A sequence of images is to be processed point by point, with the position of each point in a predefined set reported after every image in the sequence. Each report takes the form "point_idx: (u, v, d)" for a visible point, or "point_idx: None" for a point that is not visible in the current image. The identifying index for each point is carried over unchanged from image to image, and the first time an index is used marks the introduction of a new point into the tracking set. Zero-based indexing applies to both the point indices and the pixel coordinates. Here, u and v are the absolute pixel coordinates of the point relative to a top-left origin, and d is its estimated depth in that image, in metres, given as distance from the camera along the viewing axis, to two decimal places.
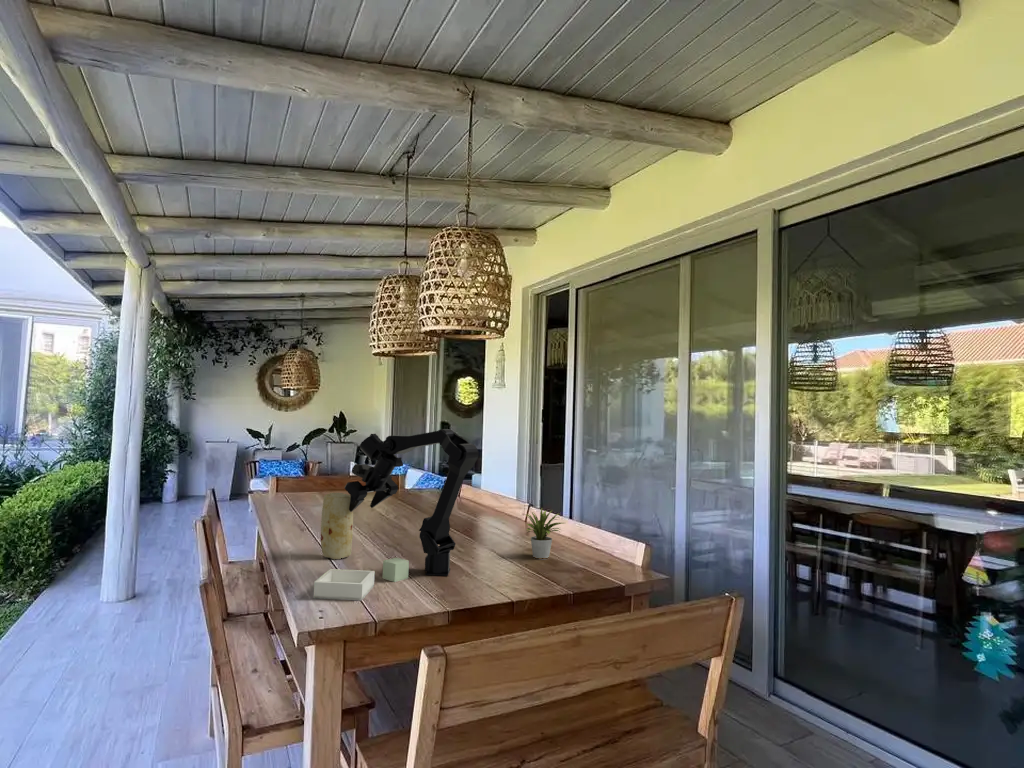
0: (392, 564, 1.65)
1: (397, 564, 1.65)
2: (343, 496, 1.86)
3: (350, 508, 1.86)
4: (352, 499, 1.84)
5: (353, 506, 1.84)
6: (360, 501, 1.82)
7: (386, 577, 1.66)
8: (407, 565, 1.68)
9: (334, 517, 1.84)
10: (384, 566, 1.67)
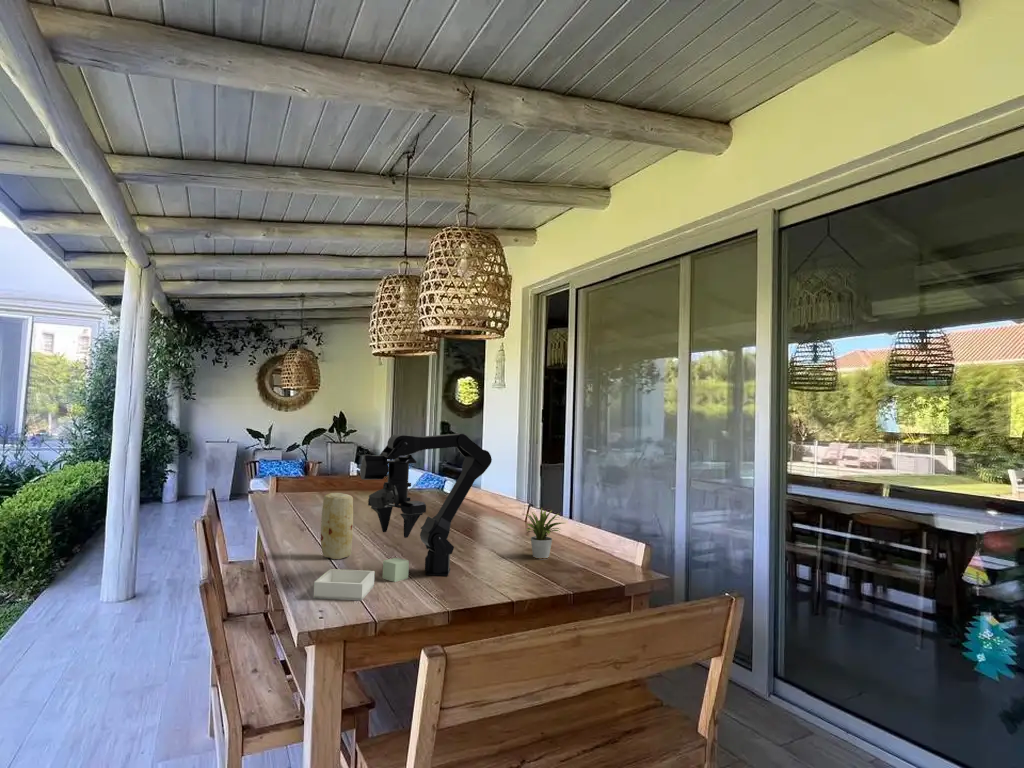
0: (392, 564, 1.65)
1: (397, 564, 1.65)
2: (343, 496, 1.86)
3: (407, 534, 1.65)
4: (408, 522, 1.64)
5: (411, 528, 1.65)
6: None
7: (386, 577, 1.66)
8: (407, 565, 1.68)
9: (334, 517, 1.84)
10: (384, 566, 1.67)
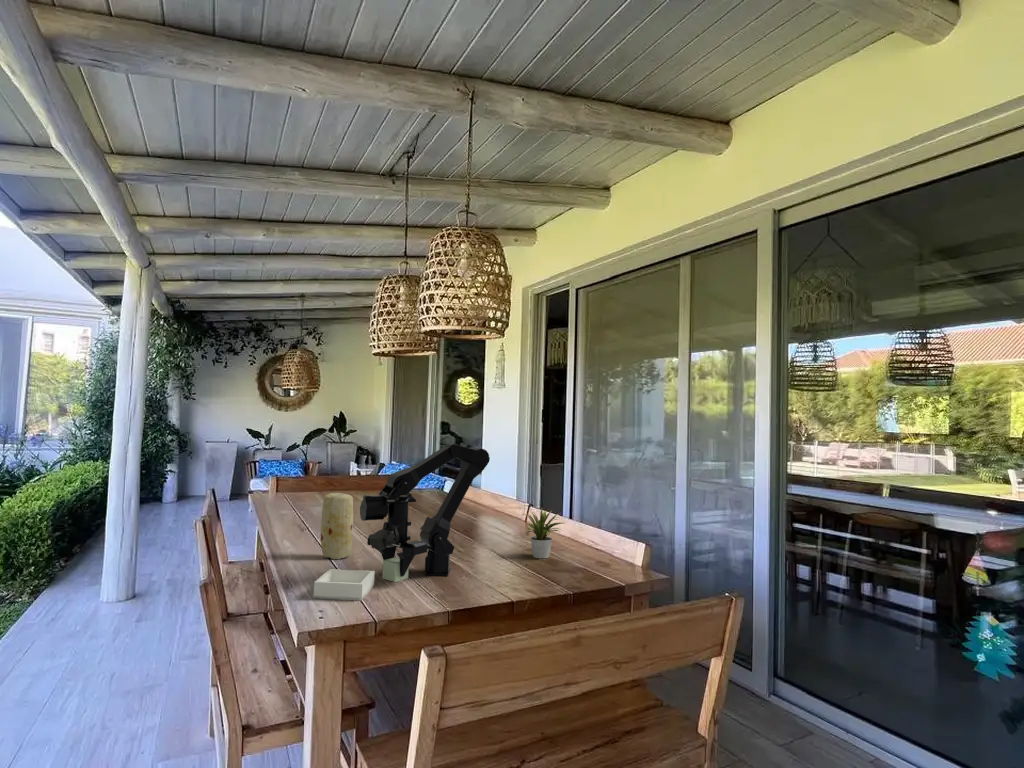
0: (392, 564, 1.65)
1: (397, 564, 1.65)
2: (343, 496, 1.86)
3: (403, 573, 1.66)
4: (404, 561, 1.65)
5: (407, 566, 1.66)
6: None
7: (386, 577, 1.66)
8: None
9: (334, 517, 1.84)
10: (384, 566, 1.67)
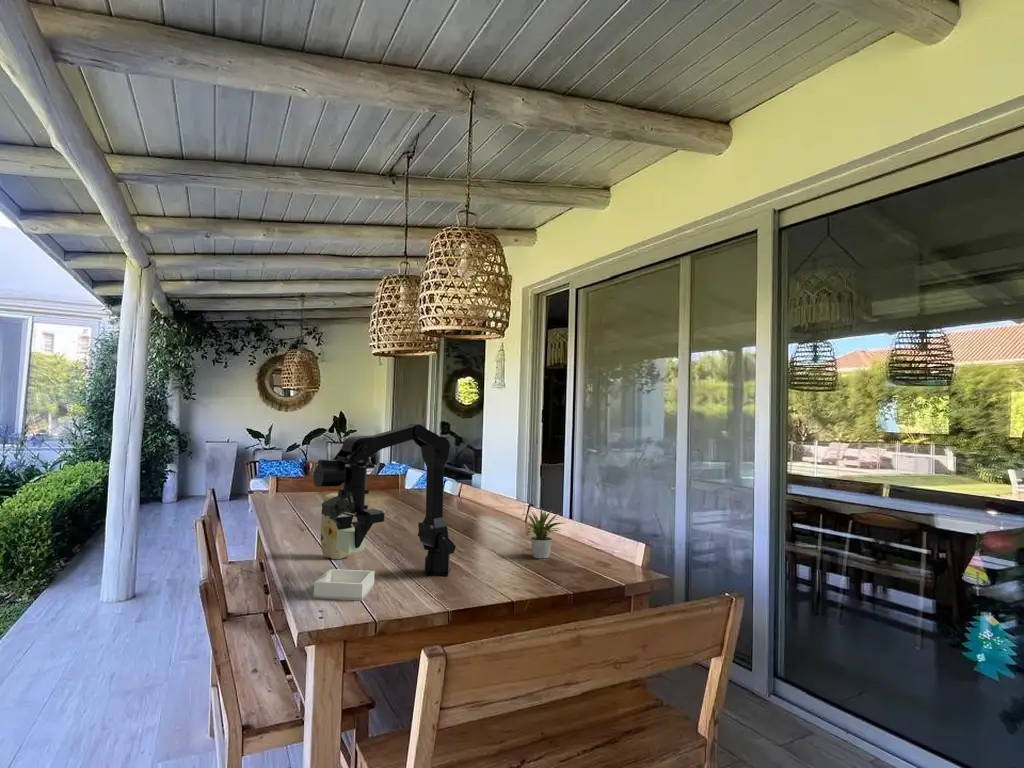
0: (346, 533, 1.52)
1: (352, 533, 1.52)
2: None
3: (358, 544, 1.53)
4: (360, 531, 1.53)
5: (363, 537, 1.54)
6: None
7: (340, 548, 1.54)
8: None
9: None
10: (338, 536, 1.54)
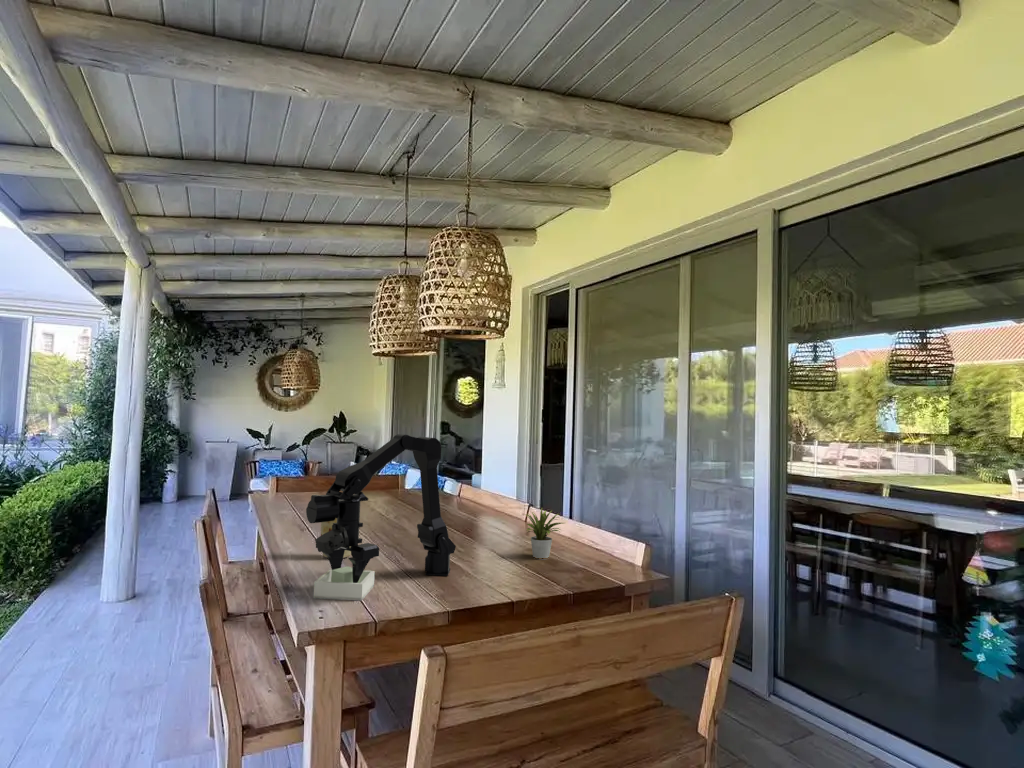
0: (341, 574, 1.51)
1: (346, 574, 1.51)
2: None
3: (356, 579, 1.51)
4: (357, 567, 1.50)
5: (361, 572, 1.52)
6: None
7: None
8: None
9: None
10: (332, 576, 1.53)
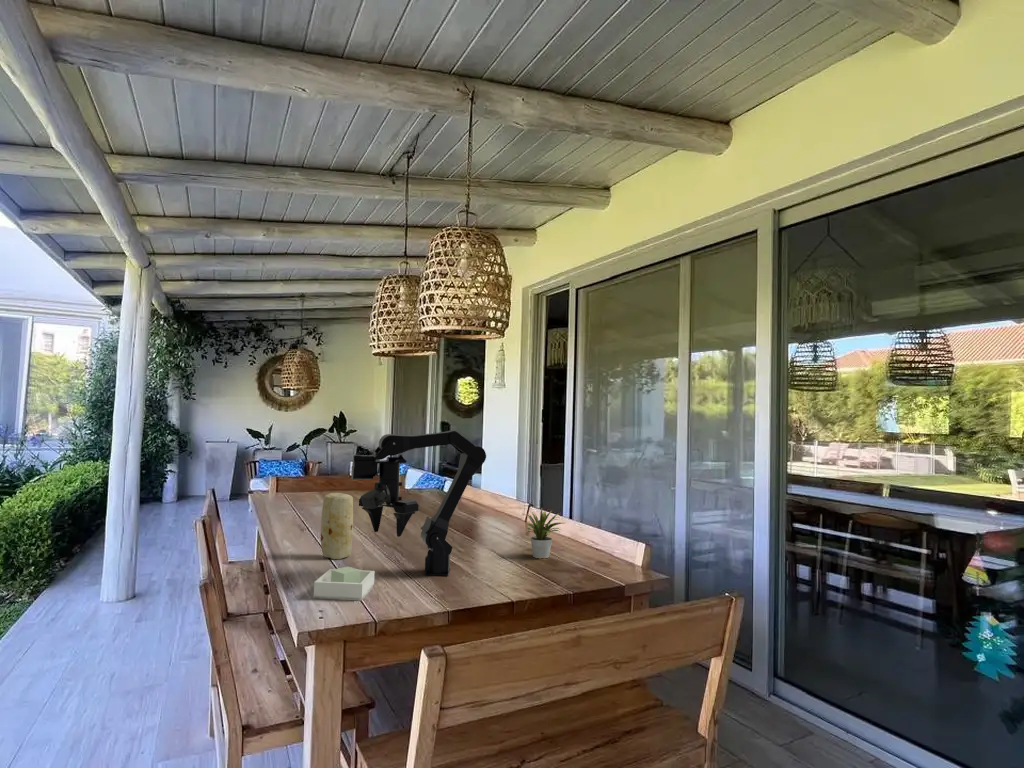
0: (341, 574, 1.51)
1: (346, 574, 1.51)
2: (343, 496, 1.86)
3: (400, 533, 1.66)
4: (401, 521, 1.66)
5: (403, 527, 1.67)
6: None
7: None
8: (358, 575, 1.54)
9: (334, 517, 1.84)
10: (332, 576, 1.53)
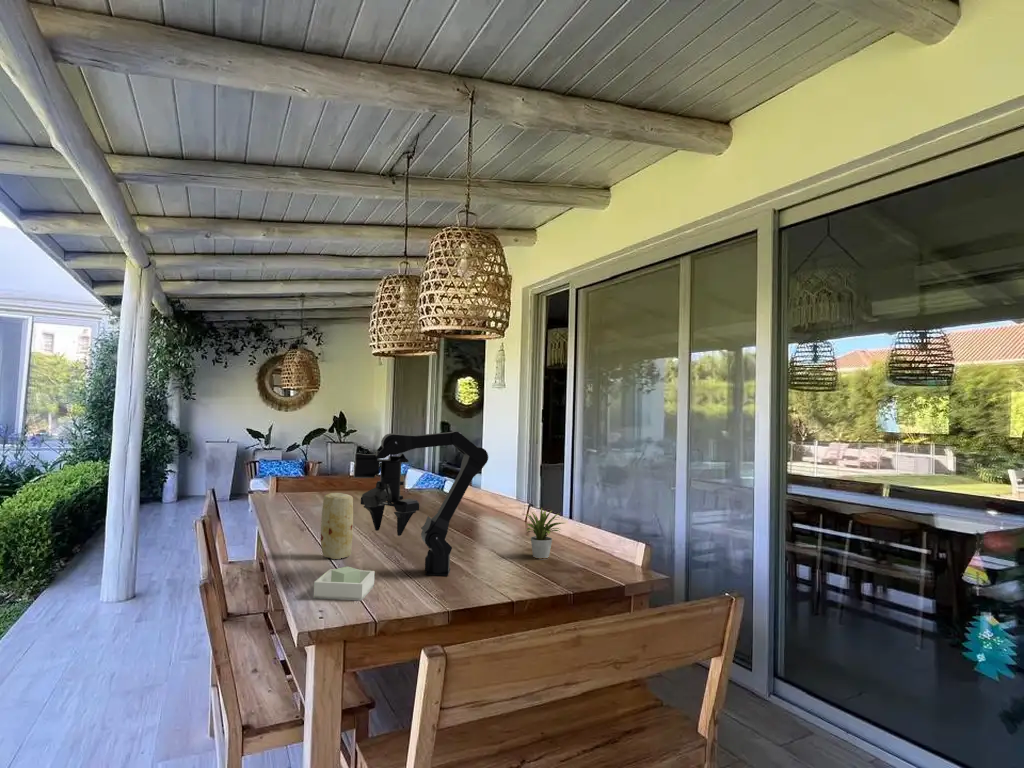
0: (341, 574, 1.51)
1: (346, 574, 1.51)
2: (343, 496, 1.86)
3: (400, 532, 1.67)
4: (401, 520, 1.66)
5: (404, 526, 1.67)
6: None
7: None
8: (358, 575, 1.54)
9: (334, 517, 1.84)
10: (332, 576, 1.53)
